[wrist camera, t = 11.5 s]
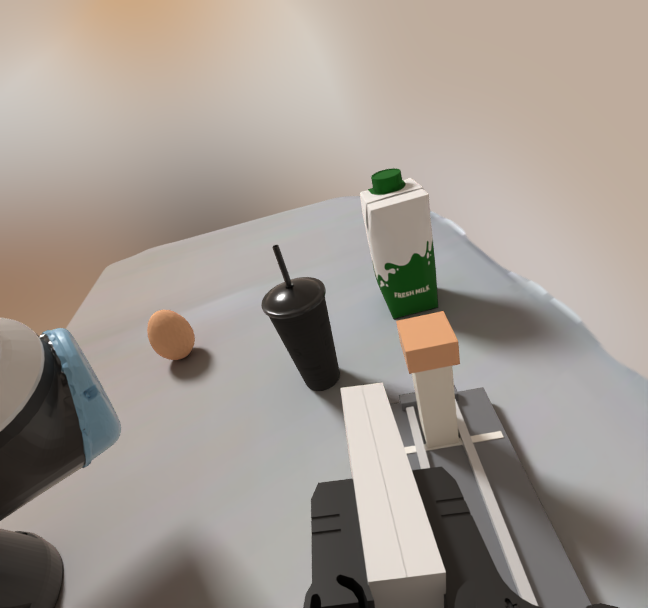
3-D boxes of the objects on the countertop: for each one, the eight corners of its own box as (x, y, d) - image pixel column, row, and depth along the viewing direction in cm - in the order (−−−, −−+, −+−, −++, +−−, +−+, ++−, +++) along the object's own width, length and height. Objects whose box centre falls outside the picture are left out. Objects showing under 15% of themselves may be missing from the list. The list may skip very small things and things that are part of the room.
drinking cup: (306, 356, 56) (260, 233, 45) (356, 358, 53) (319, 226, 42) (286, 396, 50) (228, 267, 39) (341, 401, 47) (294, 262, 36)
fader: (466, 446, 36) (458, 341, 29) (423, 453, 36) (405, 351, 29) (453, 412, 39) (443, 310, 32) (414, 419, 40) (396, 321, 32)
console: (612, 668, 24) (621, 652, 22) (421, 685, 25) (415, 672, 23) (483, 399, 42) (483, 379, 40) (376, 418, 44) (371, 400, 42)
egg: (174, 345, 67) (148, 303, 62) (207, 339, 66) (184, 297, 61) (157, 371, 62) (128, 329, 57) (194, 367, 60) (167, 322, 56)
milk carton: (426, 280, 64) (412, 160, 53) (446, 309, 56) (434, 177, 45) (376, 293, 64) (351, 178, 54) (389, 325, 57) (363, 197, 46)
